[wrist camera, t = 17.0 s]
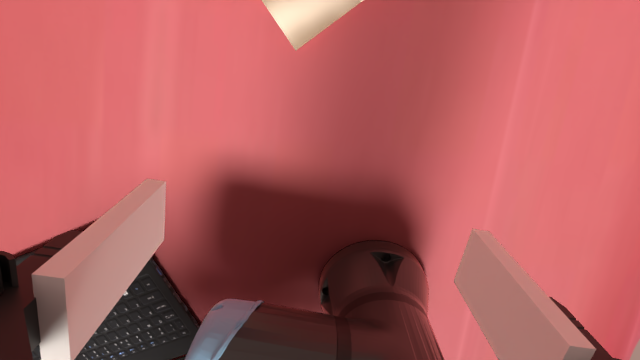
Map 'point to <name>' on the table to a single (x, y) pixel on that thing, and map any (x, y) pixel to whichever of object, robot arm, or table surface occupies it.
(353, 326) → the robot arm
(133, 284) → the laptop
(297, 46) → the hole block
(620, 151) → the table surface
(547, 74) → the table surface
